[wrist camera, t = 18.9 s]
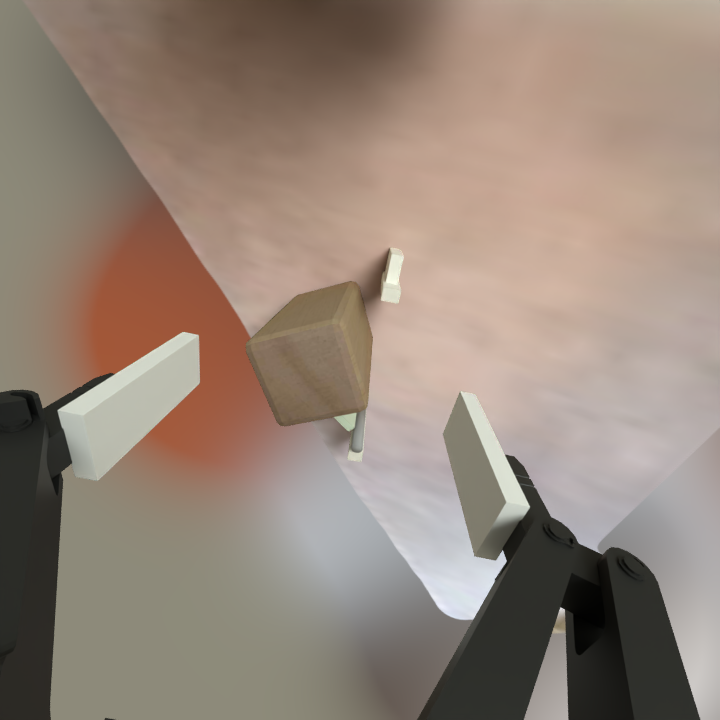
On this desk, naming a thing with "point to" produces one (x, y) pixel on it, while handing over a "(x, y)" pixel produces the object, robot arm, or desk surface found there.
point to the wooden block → (315, 356)
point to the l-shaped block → (389, 294)
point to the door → (347, 421)
